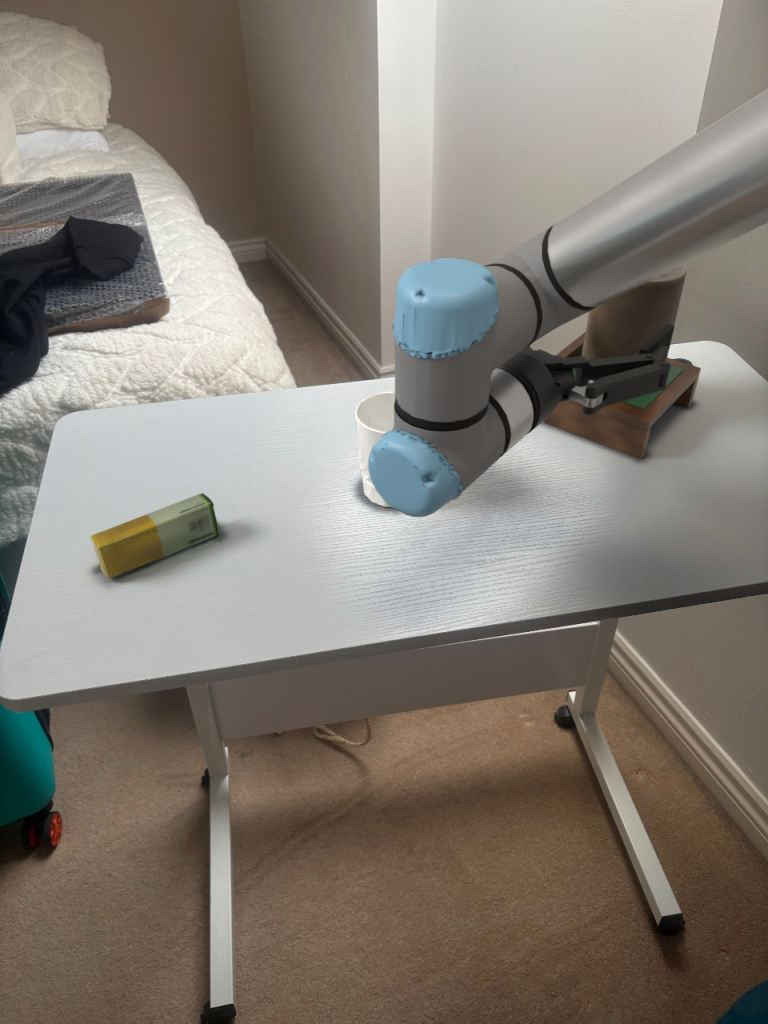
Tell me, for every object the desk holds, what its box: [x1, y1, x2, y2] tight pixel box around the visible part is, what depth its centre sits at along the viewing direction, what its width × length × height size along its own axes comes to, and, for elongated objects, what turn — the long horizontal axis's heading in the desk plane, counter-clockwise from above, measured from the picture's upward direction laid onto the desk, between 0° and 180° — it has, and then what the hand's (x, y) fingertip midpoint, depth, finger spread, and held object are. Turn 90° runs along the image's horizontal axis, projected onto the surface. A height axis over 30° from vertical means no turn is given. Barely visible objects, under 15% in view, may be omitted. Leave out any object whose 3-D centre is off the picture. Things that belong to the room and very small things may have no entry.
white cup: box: [354, 391, 395, 508], centre depth 88 cm, size 8×8×10 cm
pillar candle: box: [581, 263, 688, 361], centre depth 94 cm, size 10×10×15 cm
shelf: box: [542, 331, 702, 459], centre depth 100 cm, size 14×15×7 cm
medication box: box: [90, 492, 221, 580], centre depth 82 cm, size 12×3×4 cm, turn 125°
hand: (607, 318), depth 88 cm, fingers open, 13 cm apart
